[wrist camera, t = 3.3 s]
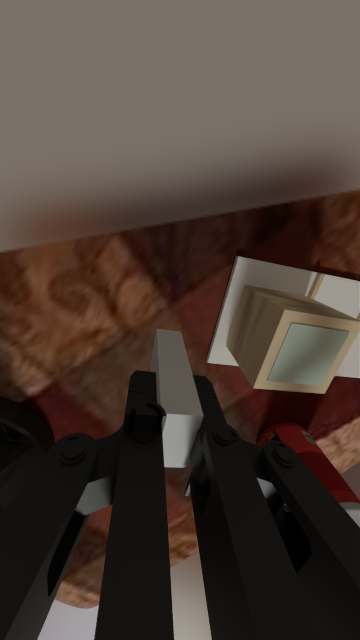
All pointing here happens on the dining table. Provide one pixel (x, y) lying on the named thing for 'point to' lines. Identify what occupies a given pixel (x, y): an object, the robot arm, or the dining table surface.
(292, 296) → the tan cube
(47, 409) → the dining table surface
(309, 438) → the canned food
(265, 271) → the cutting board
